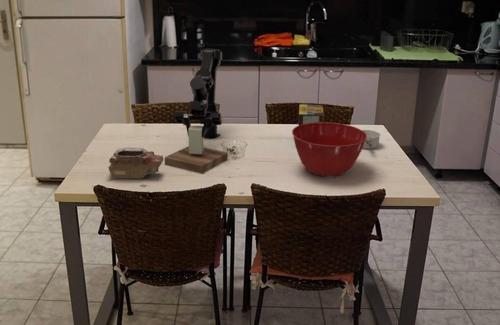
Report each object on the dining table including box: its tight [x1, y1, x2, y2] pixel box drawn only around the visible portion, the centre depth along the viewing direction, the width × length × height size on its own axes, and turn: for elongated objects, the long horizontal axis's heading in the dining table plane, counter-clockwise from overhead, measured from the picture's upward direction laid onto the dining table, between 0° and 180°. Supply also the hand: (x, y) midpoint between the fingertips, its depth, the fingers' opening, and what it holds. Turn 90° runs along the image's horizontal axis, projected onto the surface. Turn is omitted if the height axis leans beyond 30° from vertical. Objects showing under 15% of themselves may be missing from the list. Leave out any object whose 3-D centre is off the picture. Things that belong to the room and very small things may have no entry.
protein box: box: [297, 104, 324, 126], centre depth 256 cm, size 10×15×16 cm
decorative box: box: [107, 147, 164, 179], centre depth 220 cm, size 13×20×10 cm, turn 84°
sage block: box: [187, 125, 205, 154], centre depth 232 cm, size 5×5×10 cm
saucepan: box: [361, 129, 381, 150], centre depth 251 cm, size 12×20×6 cm, turn 175°
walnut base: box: [164, 145, 229, 174], centre depth 234 cm, size 18×18×3 cm
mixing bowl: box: [291, 121, 367, 178], centre depth 225 cm, size 28×28×15 cm
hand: (195, 137), depth 230 cm, fingers closed on sage block, 5 cm apart
